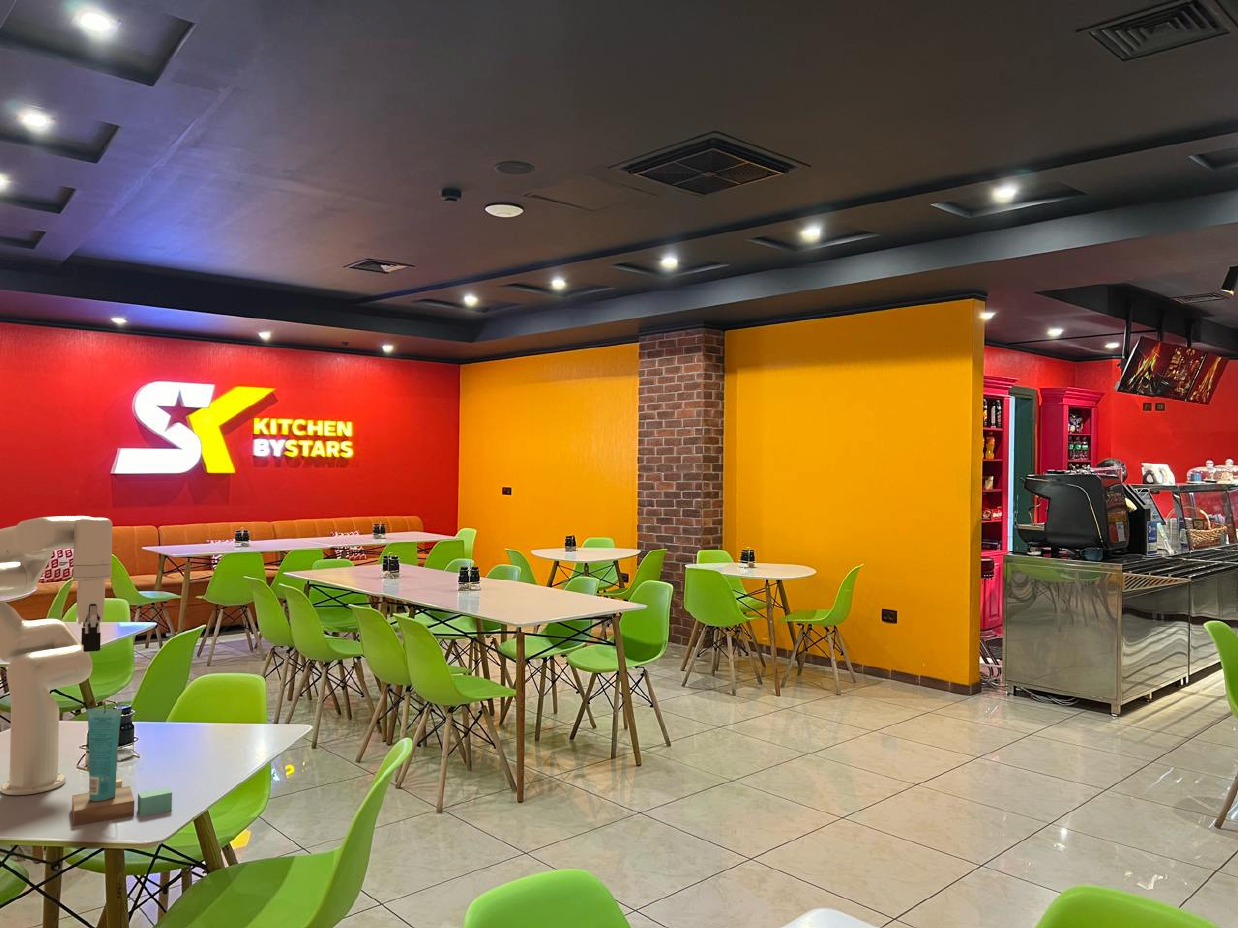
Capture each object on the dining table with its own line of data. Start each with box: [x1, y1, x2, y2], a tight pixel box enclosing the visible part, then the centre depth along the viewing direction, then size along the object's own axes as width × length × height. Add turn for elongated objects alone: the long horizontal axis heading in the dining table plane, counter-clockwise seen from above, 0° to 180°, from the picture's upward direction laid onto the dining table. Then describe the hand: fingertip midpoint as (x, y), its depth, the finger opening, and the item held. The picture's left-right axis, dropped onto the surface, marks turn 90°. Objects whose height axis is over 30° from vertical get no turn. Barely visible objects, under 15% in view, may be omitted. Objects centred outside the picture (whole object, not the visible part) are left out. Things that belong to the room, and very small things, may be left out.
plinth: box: [71, 785, 135, 826], centre depth 189 cm, size 11×11×3 cm
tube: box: [86, 708, 123, 801], centre depth 189 cm, size 7×5×19 cm, turn 97°
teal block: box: [137, 787, 173, 817], centre depth 190 cm, size 6×4×4 cm, turn 128°
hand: (90, 647), depth 196 cm, fingers open, 9 cm apart
